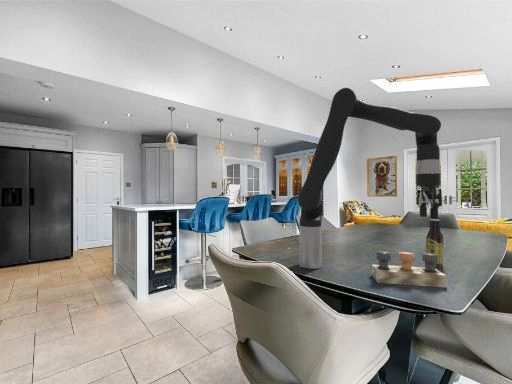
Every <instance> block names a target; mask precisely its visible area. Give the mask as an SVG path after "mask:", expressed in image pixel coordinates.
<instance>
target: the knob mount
mask: <svg viewBox="0 0 512 384" xmlns="http://www.w3.org/2000/svg"><path fill="white" fill-rule="evenodd" d="M371 276H372V277H373V279H374V280H375V281H376V282H377V283H378V284H389V285H390V284H391V285H402V284H403V285H404V286H418V287H430V288H431V287H432V288H433V287H435V288H446V289H447V274H445V273H443V272H441V271H440V270H439V269H437V268H435V273H432V272H425V266H411V271H402V265H390V264H388V270H380V269H379V264H371Z"/></svg>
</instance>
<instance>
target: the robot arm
mask: <svg viewBox="0 0 512 384" xmlns="http://www.w3.org/2000/svg"><path fill="white" fill-rule="evenodd" d="M357 97H358V96H357V95H356V92H355V91H354V90H353V89H352V88H349V87H343V88H341V89H339V90H338V91H337V92H335V94H334V95H333V98H332V101H331V105H330V109H329V113H328V116H327V117H328V118H327V121H326V122H325V126H324V128H323V130H322V132H321V135H320V137H319V139H318V140H319V141H318V142H317V145H316V148H315V151H314V154H313V157H312V160H311V163H310V167H309V170H308V174H307V176H306V179H305V181H304V183H303V185H302V188H301V189H300V191H299V193H298V196H297V202H298V205H299V207H300V217H299V245H298V259H299V260H298V263H299V264H298V265H299V268H303V269H313V270H314V269H315V270H316V269H320V268H322V264H323V263H322V262H323V259H322V221H323V197H322V196H323V195H322V190H323V187H324V185H325V181H326V180H327V177H328V176H329V175H330V172H331V171H332V170H333V167H334V165H335V163H336V161H337V159H338V156H339V153H340V150H341V146H342V142H343V137H344V130H345V125H346V123H347V120H348V118H354V119H360V120H365V121H369V122H373V123H377V124H379V125H380V124H381V125H383V126H386V127H389V128H392V129H396V130H398V131H409V132H414V135H415V144H416V164H415V186H416V187H420V188H419V189H416V205H417V206H418V207H419V217H421V218H426V217H427V216H428V215H427V214H428V212H427V211H428V209H427V208H428V205H429V218H430V219H435V220H439V208H440V207H443V198H442V197H443V196H442V194H443V193H442V188H437V187H440V186H441V184H442V181H441V180H442V174H441V173H442V172H441V171H442V170H441V169H442V168H441V167H442V166H441V161H440V159H441V158H440V157H441V155H440V154H441V153H440V150H441V149H440V147H439V144H438V133H439V131H440V130H441V127H442V122H441V120H440V119H439V118H437V116H433V115H431V114H428V113H427V114H425V113H418V112H410V111H408V110H404V109H401V108H396V107H394V106H385V105H374V104H369V103H366V102H363V101H362V100H360V99H358V98H357Z"/></svg>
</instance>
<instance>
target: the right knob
mask: <svg viewBox="0 0 512 384" xmlns="http://www.w3.org/2000/svg"><path fill="white" fill-rule="evenodd" d="M421 261H422V262H424V267H425V272H432V273H435V269H436V267H435V263H438V255H437V254H432V253H426V252H421Z"/></svg>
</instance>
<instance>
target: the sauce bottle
mask: <svg viewBox="0 0 512 384" xmlns="http://www.w3.org/2000/svg"><path fill="white" fill-rule="evenodd" d="M428 222H429V229H428V232H427V234H426V236H425V253H432V254H437V255H438V263H435V268H442V267H443V265H444V264H443V263H444V235H443V234H442V232H441V224H442V221H441V220H440V219H431V218H430V219H429V220H428Z"/></svg>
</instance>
